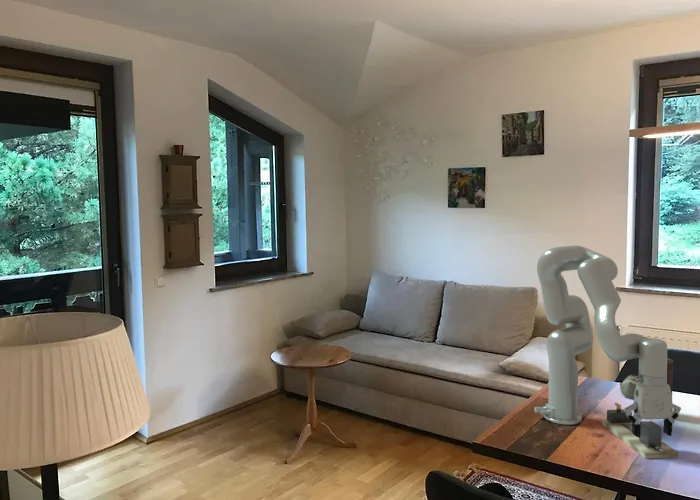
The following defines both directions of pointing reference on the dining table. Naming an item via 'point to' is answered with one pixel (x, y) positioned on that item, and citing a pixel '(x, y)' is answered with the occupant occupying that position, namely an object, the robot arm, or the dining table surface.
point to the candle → (670, 373)
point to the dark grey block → (651, 435)
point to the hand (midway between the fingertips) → (652, 435)
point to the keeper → (617, 415)
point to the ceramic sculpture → (629, 386)
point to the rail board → (629, 438)
